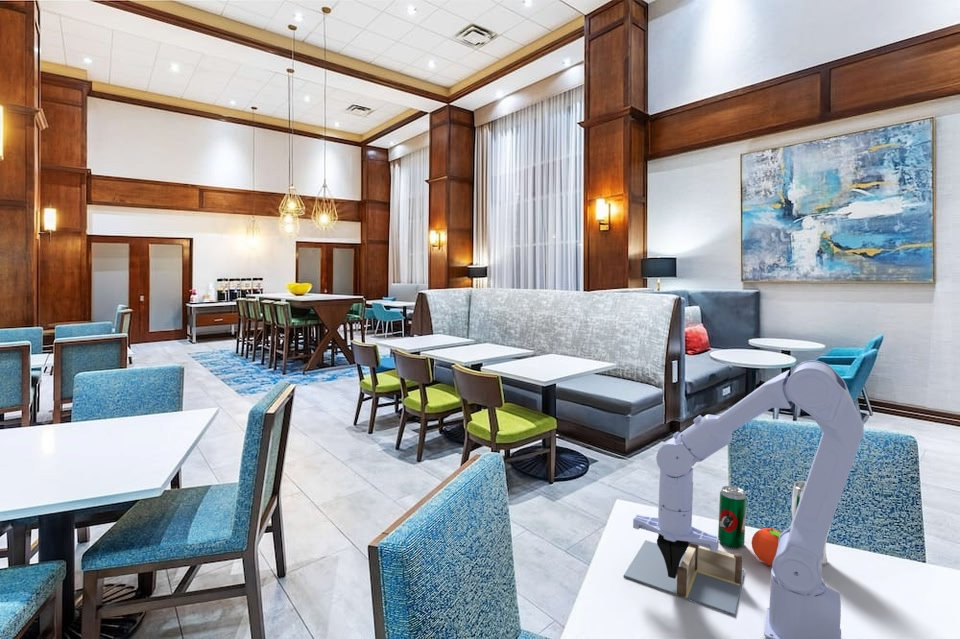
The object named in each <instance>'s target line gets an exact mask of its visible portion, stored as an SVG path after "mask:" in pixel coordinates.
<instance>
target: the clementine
mask: <svg viewBox="0 0 960 639" xmlns="http://www.w3.org/2000/svg"><path fill="white" fill-rule="evenodd" d="M782 533H783V532H781V531H779V530H777V529H774V528H770V527H765V528H761V529H758V530H757V531H756V532H755V533H754V534H753V536H752V538H751V548H752V551H753V553H754V555H755V556H756V557H757V559H759V560H760V561H761V562H762V563H763V564H766V565H768V566H771V567H772V564H773V560H774V558H775V556H776V552H777V548H778V539H779V536H780V535H781V534H782Z"/></svg>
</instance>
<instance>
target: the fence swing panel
mask: <svg viewBox="0 0 960 639" xmlns="http://www.w3.org/2000/svg"><path fill="white" fill-rule="evenodd" d="M695 550H696V548H693V547H688V548H687V550H686V554H685V556H684V558H683V561H682V563H681V565H680V567H678V568H677V594H678V595H679V596H682V597H685V596H686V591H687V588H688V586H689V583H690V581H691V578H692V576H693V573H694V571H695ZM679 596H678V597H679ZM682 597H681V598H682Z"/></svg>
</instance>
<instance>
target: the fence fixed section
mask: <svg viewBox="0 0 960 639" xmlns="http://www.w3.org/2000/svg"><path fill="white" fill-rule="evenodd" d="M688 547H693V548H696V550H695V571H696V570H697V571H700V572H704V573H707V574H710V575H713V576H716V577H719V578H723V579H726V580H729V581H732V582H735V583H737V584H741V582H742V583H743V580H742V569H743V560H744V558H743V555H742V554H741V553H737V552H736V553H734V554H733V553H729V552H728V551H727V552H725V551H723V550H719V549H718V550H717V552H713V551H711V550H710V549H709V548H706V547H702V546H699V545H696V544H692V543H689V546H688ZM741 585H742V584H741Z"/></svg>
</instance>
